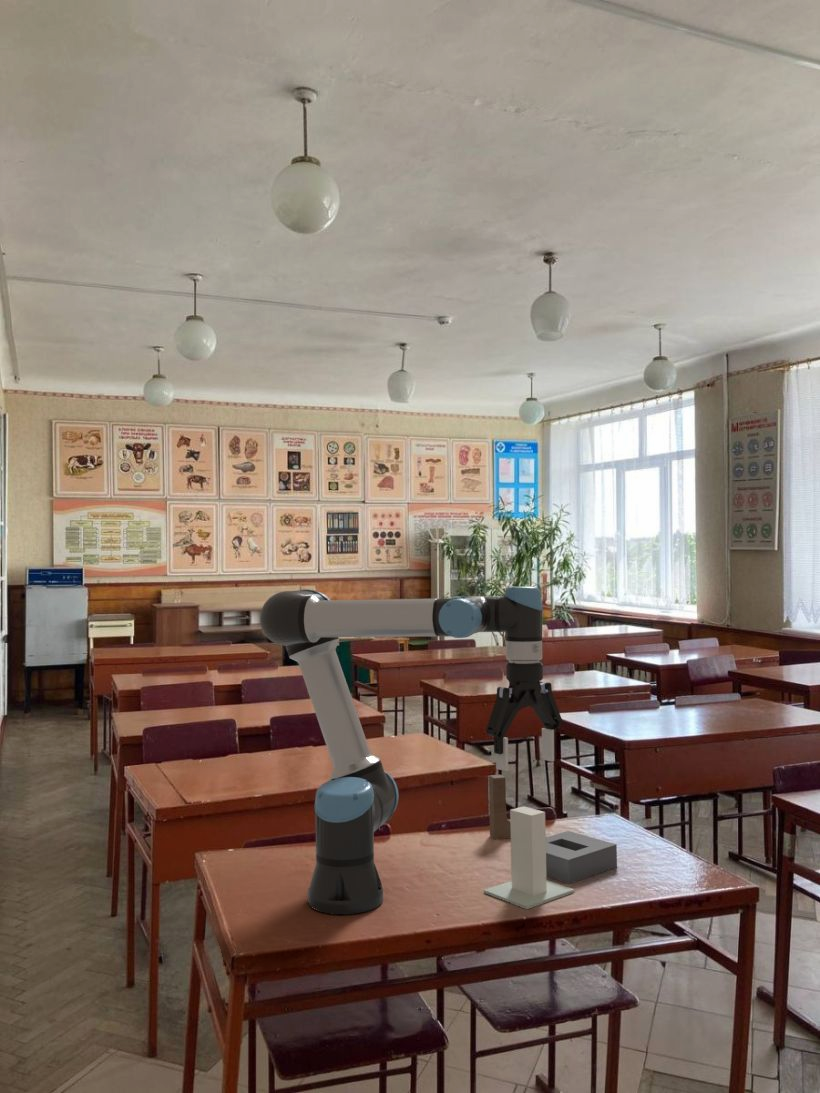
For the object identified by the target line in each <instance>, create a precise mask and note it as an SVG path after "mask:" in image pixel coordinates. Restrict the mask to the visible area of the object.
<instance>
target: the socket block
mask: <svg viewBox="0 0 820 1093" xmlns="http://www.w3.org/2000/svg"><path fill="white" fill-rule="evenodd" d="M617 845H618V844H616V843H613V842H610V841H605V840H603V839H602V840H601V839H598V838H595V837H591V836H588V835H584V834H580V833H577V832H572V831H570V830H567V831H563V832H560V833H556V834H554V835H549V836H546V878H547V877H548V878H550V879H554V880H557V881H559V882H562V883H565V884H569V885H570V884H573V883H576V882H578V881H581V880H584V879H587V878H591V877H592V876H595V875H598V874H601V873H605V872H607V871H610V870H612V869H616V868H618V855H617V854H618V853H617V848H618V847H617Z"/></svg>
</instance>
